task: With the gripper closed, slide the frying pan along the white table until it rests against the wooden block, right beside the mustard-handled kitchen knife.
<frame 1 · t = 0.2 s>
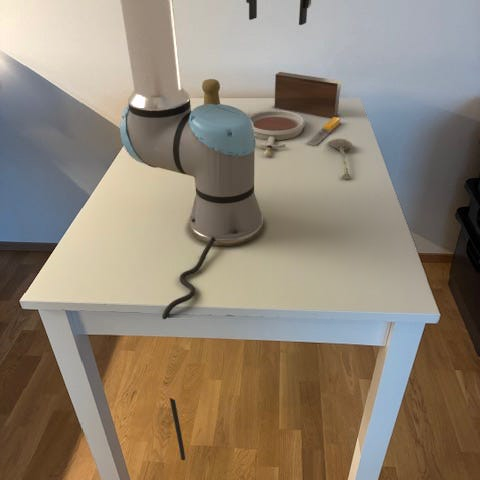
hand: (277, 21, 119), 28 cm above the table, tool pointing down, fingers open, 13 cm apart
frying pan: (273, 137, 137), on the table
knife: (324, 133, 138), on the table
soupspoon: (341, 160, 125), on the table
cork: (212, 119, 148), on the table
ice cream bowl: (165, 146, 133), on the table
wooden block: (305, 111, 151), on the table
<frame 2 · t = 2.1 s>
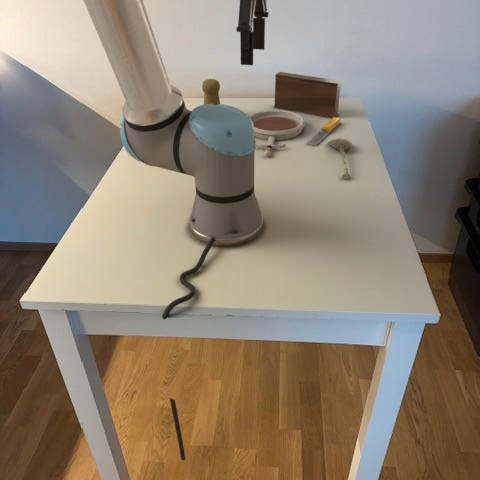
hand: (253, 56, 114), 23 cm above the table, tool pointing down, fingers open, 13 cm apart
nothing on the table moved.
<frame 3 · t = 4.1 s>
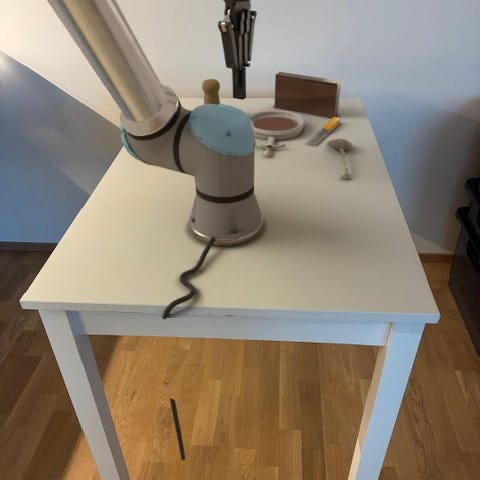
hand: (239, 97, 114), 16 cm above the table, tool pointing down, fingers closed
nothing on the table moved.
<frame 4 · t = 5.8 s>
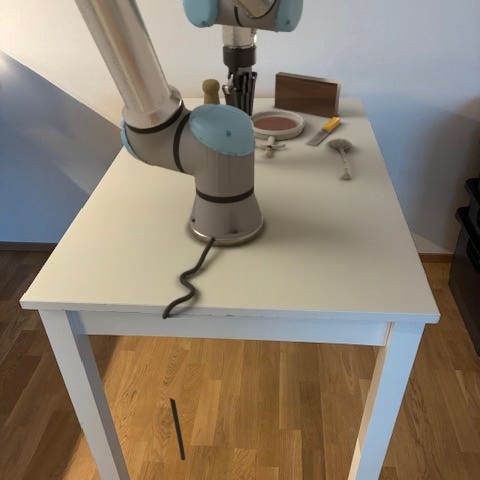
hand: (241, 148, 123), 4 cm above the table, tool pointing down, fingers closed
nothing on the table moved.
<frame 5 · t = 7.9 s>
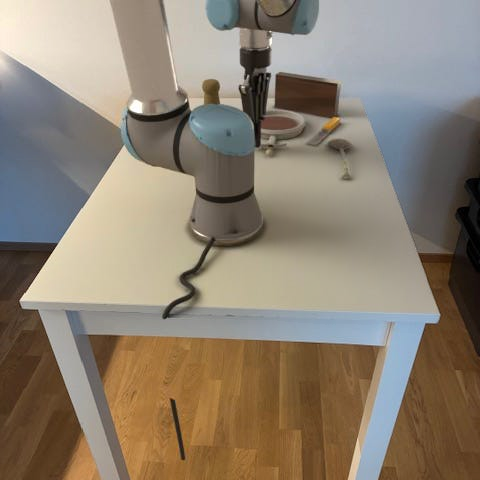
hand: (254, 145, 129), 1 cm above the table, tool pointing down, fingers closed
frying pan: (273, 136, 137), on the table, touching gripper
everything else where it was.
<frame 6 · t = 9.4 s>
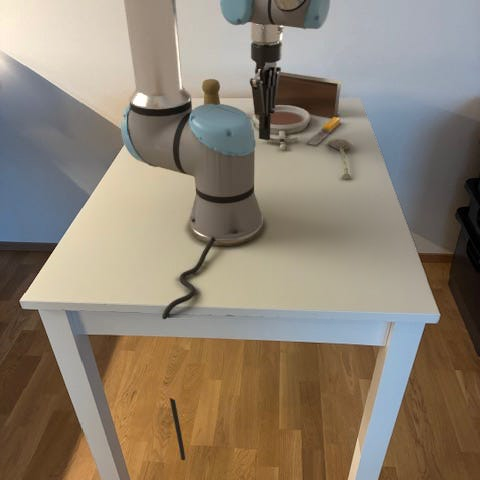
hand: (264, 138, 132), 1 cm above the table, tool pointing down, fingers closed
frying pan: (281, 131, 140), on the table, touching gripper
everything else where it was.
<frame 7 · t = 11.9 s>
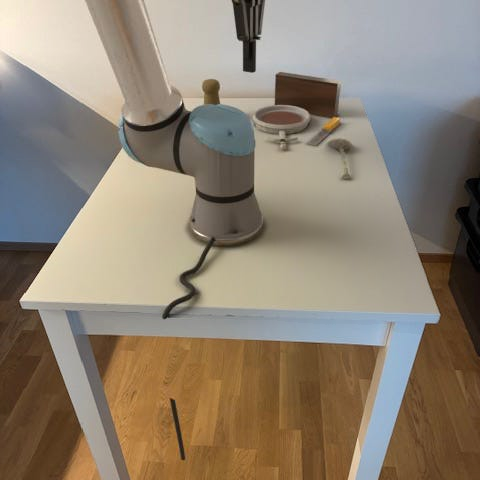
hand: (249, 71, 116), 20 cm above the table, tool pointing down, fingers closed
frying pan: (281, 131, 140), on the table
everything else where it was.
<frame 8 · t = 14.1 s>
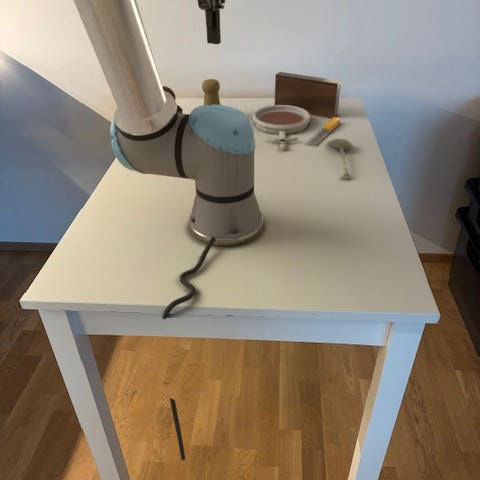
hand: (214, 42, 111), 26 cm above the table, tool pointing down, fingers closed
nothing on the table moved.
at the end: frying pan 1.3 cm from the target spot, on the table; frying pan 12.3 cm from the knife (horizontally); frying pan tilted 0° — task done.
